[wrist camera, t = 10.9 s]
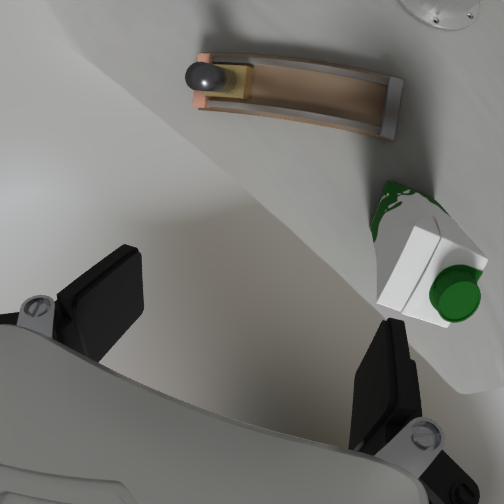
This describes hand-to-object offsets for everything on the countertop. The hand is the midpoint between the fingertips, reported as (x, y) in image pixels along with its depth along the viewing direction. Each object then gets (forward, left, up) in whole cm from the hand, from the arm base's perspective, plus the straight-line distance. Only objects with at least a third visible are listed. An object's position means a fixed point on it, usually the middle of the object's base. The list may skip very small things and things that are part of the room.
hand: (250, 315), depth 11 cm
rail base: (-9, -4, -32) cm, 33 cm away
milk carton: (+4, +12, -32) cm, 35 cm away
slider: (-9, -12, -30) cm, 34 cm away
